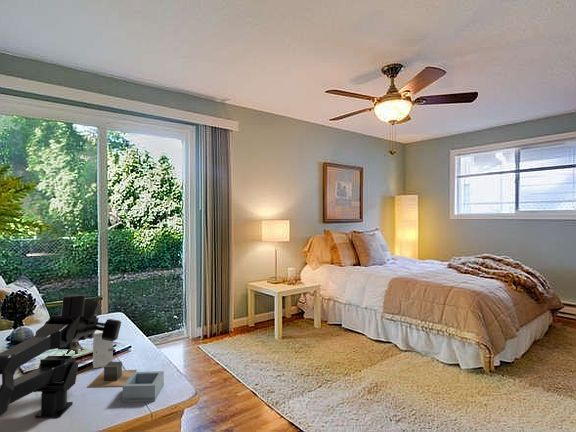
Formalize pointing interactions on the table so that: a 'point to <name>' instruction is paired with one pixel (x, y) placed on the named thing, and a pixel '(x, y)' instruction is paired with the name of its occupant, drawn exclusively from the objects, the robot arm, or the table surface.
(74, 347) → the eiffel tower figurine
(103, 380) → the lid
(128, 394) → the grey open-top tray
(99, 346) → the skincare box
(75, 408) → the table surface
